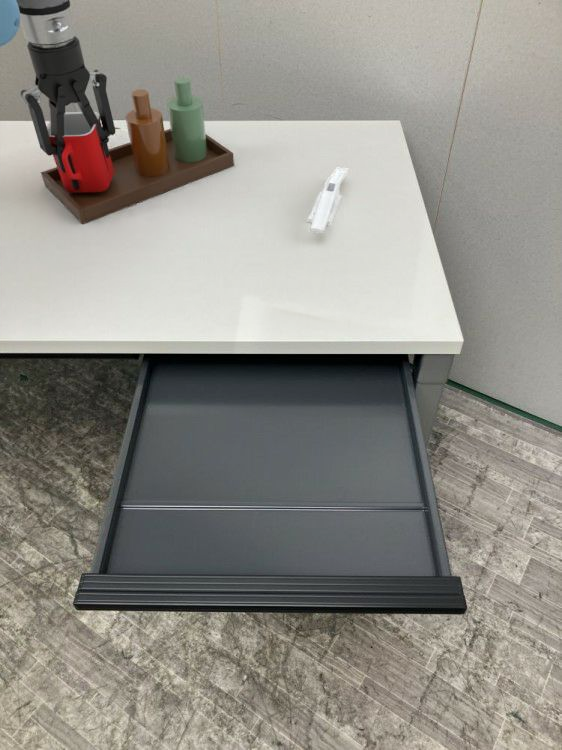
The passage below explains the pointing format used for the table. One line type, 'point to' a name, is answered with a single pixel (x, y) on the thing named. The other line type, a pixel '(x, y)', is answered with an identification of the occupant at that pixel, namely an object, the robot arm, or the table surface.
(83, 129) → the mug
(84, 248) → the table surface
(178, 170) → the tray
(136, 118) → the amber bottle
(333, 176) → the white long narrow piece
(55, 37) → the robot arm
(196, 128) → the sage bottle
